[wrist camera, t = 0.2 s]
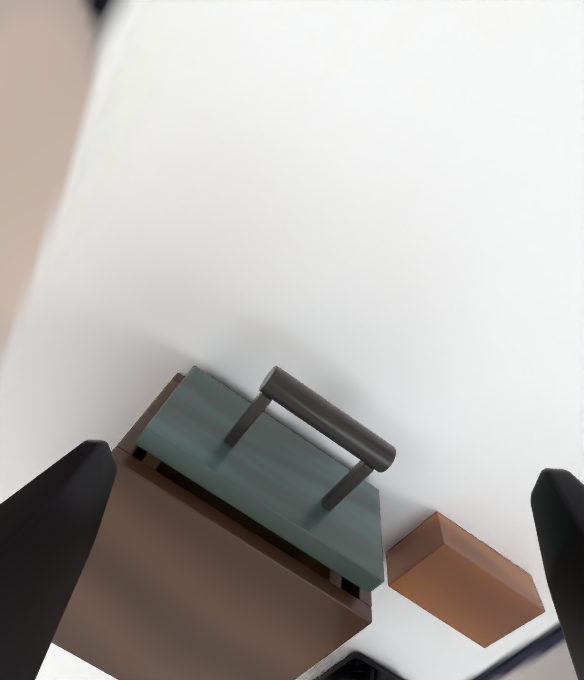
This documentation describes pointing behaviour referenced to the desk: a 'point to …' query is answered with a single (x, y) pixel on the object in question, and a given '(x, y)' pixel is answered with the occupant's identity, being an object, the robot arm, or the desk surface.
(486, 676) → the desk surface
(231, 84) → the desk surface
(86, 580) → the cabinet
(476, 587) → the brown rectangular box
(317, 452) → the drawer
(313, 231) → the desk surface
